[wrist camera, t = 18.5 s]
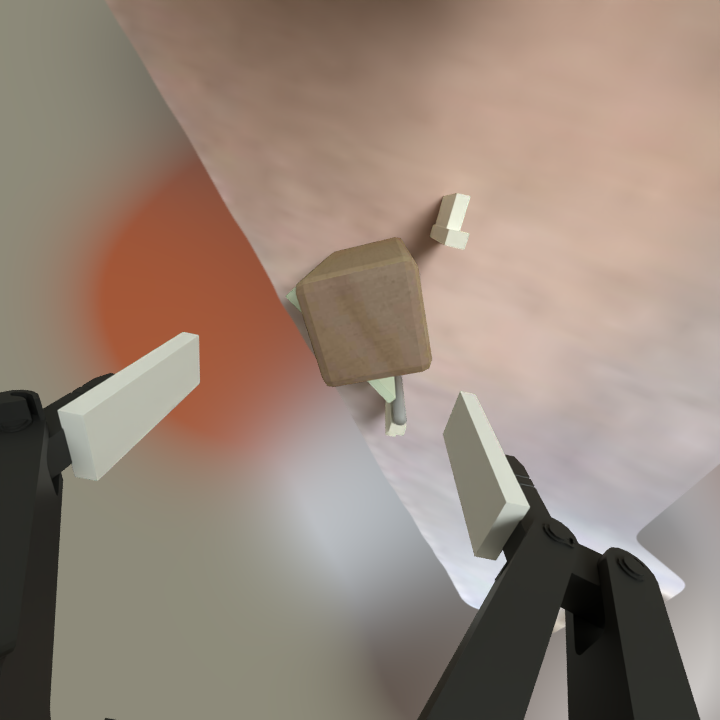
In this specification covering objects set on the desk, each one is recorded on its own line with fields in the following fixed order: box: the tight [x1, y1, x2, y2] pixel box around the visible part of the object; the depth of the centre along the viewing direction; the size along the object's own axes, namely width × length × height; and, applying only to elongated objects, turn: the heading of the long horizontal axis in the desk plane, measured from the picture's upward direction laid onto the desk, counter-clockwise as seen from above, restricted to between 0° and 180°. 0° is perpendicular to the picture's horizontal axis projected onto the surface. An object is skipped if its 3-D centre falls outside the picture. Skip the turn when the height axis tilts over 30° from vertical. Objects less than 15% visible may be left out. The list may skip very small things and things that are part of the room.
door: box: [286, 287, 396, 403], centre depth 44 cm, size 19×3×8 cm, turn 41°
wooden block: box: [296, 237, 432, 387], centre depth 35 cm, size 10×10×20 cm
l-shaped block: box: [385, 193, 471, 437], centre depth 41 cm, size 31×2×11 cm, turn 169°
